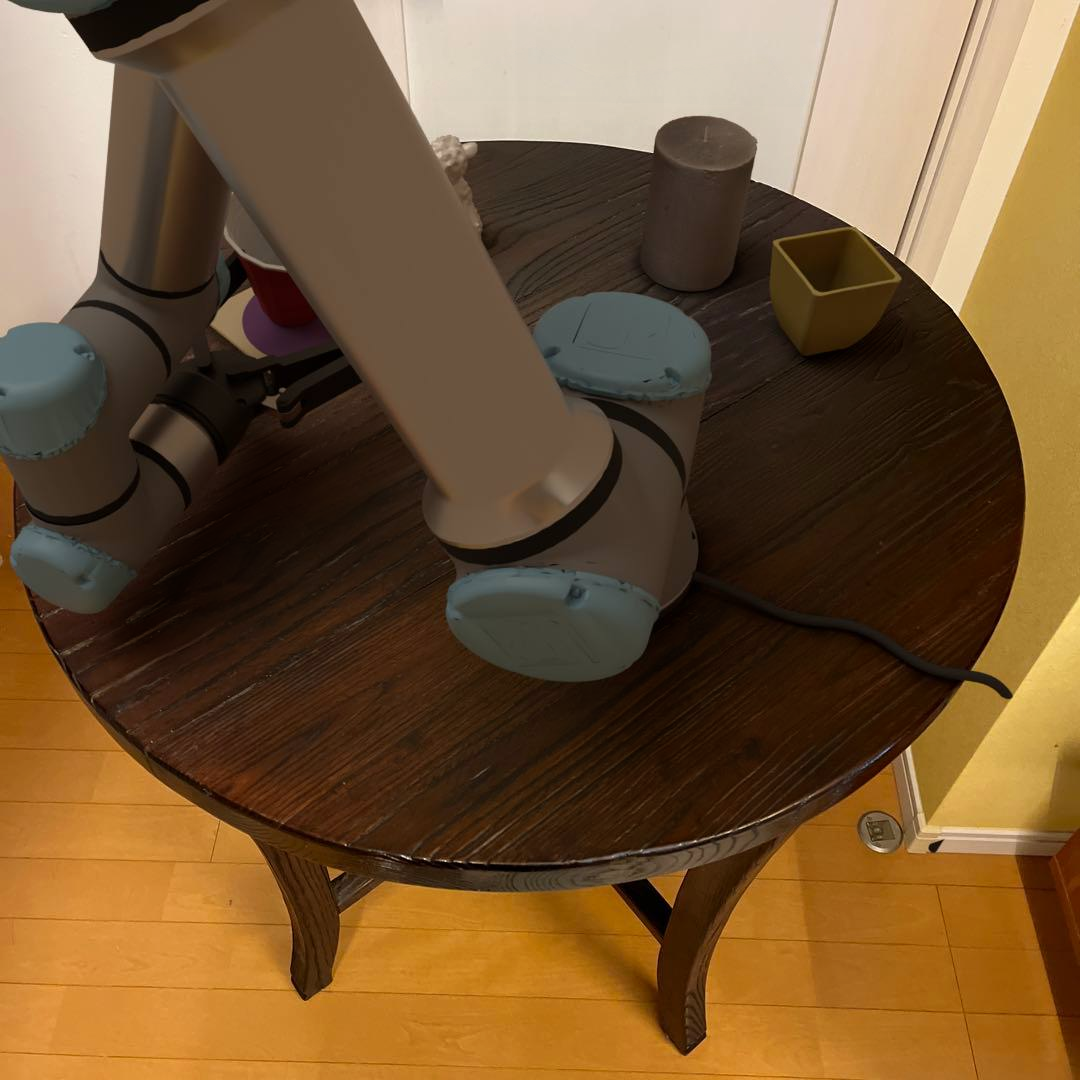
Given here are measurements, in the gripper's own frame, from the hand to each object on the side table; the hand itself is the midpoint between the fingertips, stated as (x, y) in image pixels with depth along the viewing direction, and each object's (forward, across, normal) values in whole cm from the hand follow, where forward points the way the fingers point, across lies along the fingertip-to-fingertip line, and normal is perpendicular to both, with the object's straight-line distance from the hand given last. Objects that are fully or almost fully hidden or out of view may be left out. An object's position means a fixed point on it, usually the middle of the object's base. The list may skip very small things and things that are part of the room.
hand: (311, 278), depth 94 cm
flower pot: (+19, +43, -8) cm, 48 cm away
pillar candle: (+26, +28, -8) cm, 39 cm away
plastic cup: (+4, -5, -7) cm, 9 cm away
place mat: (+3, -3, -8) cm, 9 cm away
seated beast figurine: (+20, +4, -8) cm, 22 cm away
